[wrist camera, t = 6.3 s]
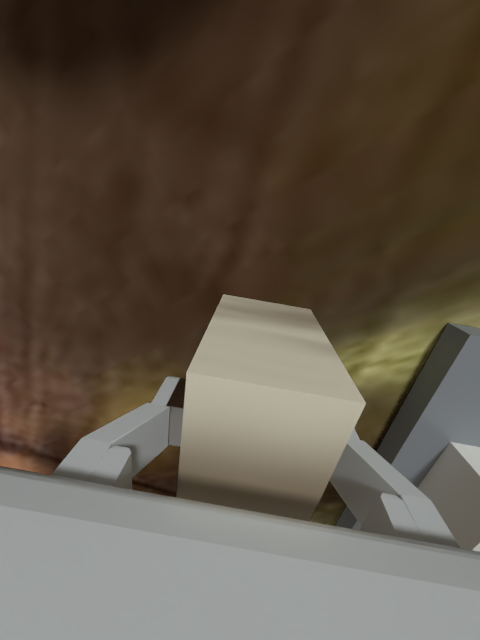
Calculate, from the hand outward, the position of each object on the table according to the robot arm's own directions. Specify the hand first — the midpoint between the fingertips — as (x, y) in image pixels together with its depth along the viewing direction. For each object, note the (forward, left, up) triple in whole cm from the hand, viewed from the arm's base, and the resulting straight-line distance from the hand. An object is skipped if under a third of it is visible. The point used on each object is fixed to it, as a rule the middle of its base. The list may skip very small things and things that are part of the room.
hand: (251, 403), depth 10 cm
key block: (0, 0, -3) cm, 3 cm away
